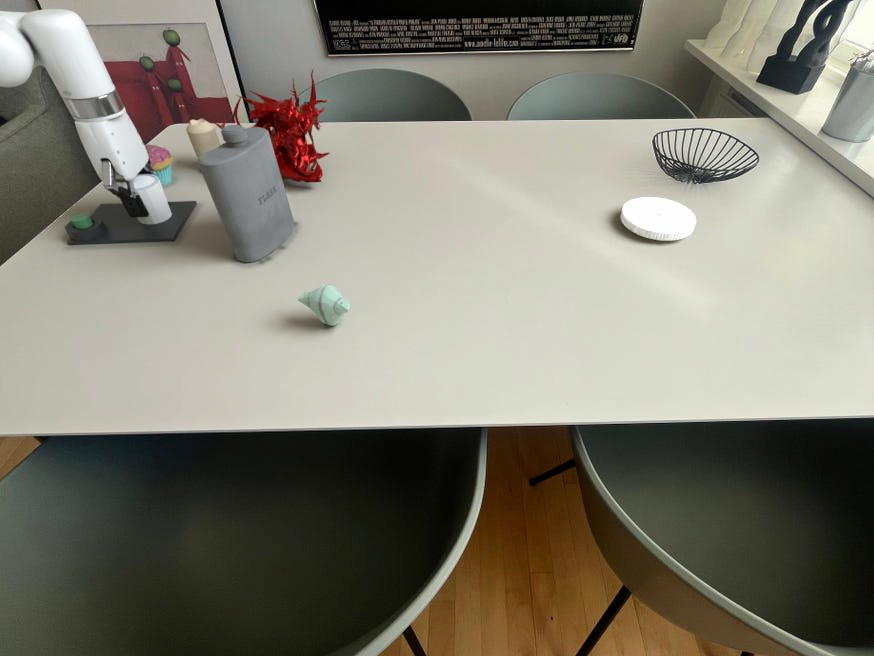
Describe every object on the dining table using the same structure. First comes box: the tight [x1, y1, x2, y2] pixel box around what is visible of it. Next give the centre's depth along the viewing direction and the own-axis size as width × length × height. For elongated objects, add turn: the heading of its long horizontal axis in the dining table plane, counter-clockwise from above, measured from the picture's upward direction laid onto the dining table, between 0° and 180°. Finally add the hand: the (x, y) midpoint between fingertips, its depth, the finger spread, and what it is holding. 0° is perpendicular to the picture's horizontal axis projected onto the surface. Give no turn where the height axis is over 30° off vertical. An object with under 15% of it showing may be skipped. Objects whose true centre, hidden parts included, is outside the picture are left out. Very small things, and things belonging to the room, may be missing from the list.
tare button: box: [69, 212, 93, 229], centre depth 86 cm, size 3×3×2 cm
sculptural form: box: [212, 68, 331, 183], centre depth 104 cm, size 20×25×22 cm
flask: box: [196, 124, 296, 263], centre depth 81 cm, size 15×6×20 cm, turn 165°
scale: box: [64, 200, 198, 246], centre depth 91 cm, size 18×14×2 cm
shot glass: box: [120, 174, 172, 224], centre depth 89 cm, size 7×7×7 cm
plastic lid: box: [620, 196, 697, 242], centre depth 94 cm, size 14×14×2 cm
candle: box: [185, 117, 222, 159], centre depth 105 cm, size 6×6×10 cm
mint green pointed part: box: [296, 284, 351, 326], centre depth 71 cm, size 8×4×7 cm, turn 75°
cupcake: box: [145, 144, 174, 186], centre depth 99 cm, size 9×8×12 cm
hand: (147, 205), depth 90 cm, fingers closed on shot glass, 6 cm apart
